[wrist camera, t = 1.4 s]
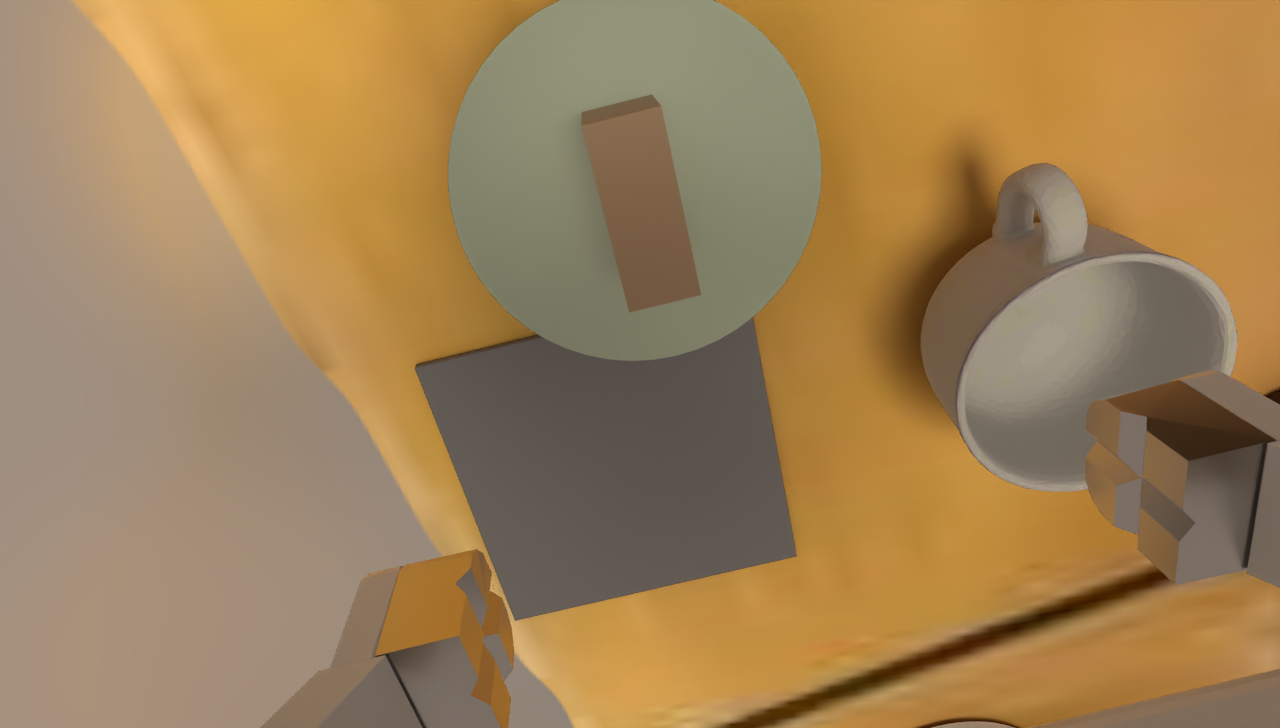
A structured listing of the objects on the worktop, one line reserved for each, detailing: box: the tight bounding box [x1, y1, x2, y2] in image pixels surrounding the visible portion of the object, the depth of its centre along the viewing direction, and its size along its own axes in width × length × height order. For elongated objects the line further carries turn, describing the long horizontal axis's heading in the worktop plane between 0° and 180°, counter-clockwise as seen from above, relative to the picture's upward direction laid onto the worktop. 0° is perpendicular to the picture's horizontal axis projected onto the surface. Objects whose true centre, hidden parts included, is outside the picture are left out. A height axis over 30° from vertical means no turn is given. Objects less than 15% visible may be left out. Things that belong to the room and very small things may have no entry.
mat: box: [415, 317, 797, 621], centre depth 40 cm, size 16×16×1 cm
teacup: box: [921, 163, 1237, 492], centre depth 33 cm, size 14×11×8 cm
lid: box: [448, 0, 822, 361], centre depth 26 cm, size 13×13×4 cm
